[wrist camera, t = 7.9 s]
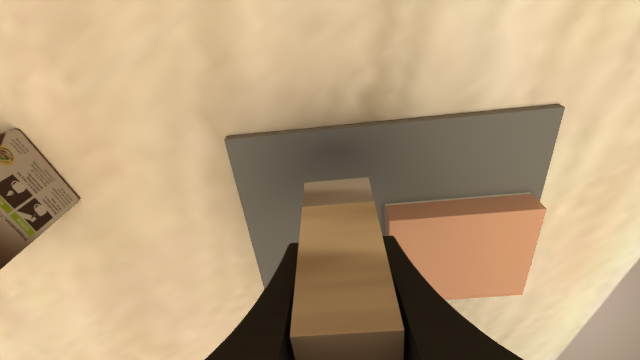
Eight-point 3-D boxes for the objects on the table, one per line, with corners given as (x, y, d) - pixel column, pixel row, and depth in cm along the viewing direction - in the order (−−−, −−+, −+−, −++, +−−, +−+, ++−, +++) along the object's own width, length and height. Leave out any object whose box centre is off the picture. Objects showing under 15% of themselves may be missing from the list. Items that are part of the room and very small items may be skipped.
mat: (514, 277, 28) (517, 283, 28) (268, 293, 30) (267, 299, 29) (558, 104, 21) (564, 107, 20) (226, 136, 22) (224, 139, 22)
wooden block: (370, 227, 17) (402, 393, 10) (312, 232, 17) (304, 397, 10) (368, 177, 16) (404, 330, 9) (304, 182, 16) (289, 337, 9)
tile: (385, 283, 28) (509, 275, 27) (389, 303, 26) (522, 294, 26) (384, 204, 24) (530, 192, 23) (389, 221, 22) (546, 208, 22)
